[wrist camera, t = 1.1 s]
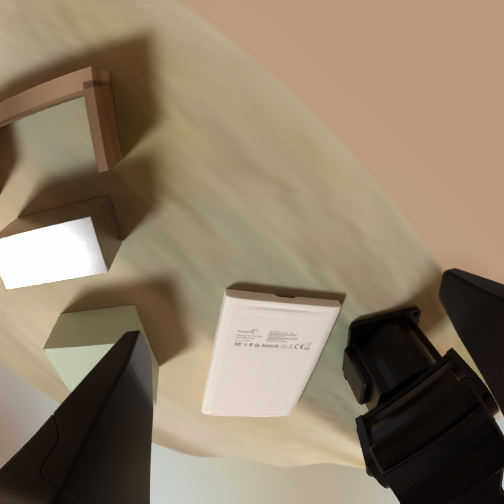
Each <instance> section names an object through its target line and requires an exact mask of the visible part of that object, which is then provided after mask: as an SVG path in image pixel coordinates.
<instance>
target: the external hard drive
mask: <svg viewBox="0 0 504 504" xmlns="http://www.w3.org/2000/svg"><path fill="white" fill-rule="evenodd" d="M340 309H341V304H340V303H339V301H338V300H328V299H317V298H306V297H294V298H285V297H278V296H276V295H275V294H267V293H258V292H249V291H241V290H232V289H225V293H224V297H223V302H222V306H221V311H220V316H219V320H218V325H217V330H216V335H215V339H214V344H213V349H212V354H211V359H210V364H209V369H208V374H207V379H206V384H205V389H204V394H203V399H202V404H201V412H202V413H203V414H206V415H217V416H248V417H250V416H253V417H275V416H276V417H279V416H289V415H291V414H292V412H293V410H294V408H295V406H296V404H297V402H298V400H299V398H300V396H301V394H302V392H303V390H304V388H305V386H306V384H307V382H308V380H309V378H310V376H311V374H312V372H313V370H314V367H315V365H316V363H317V361H318V359H319V357H320V355H321V352H322V350H323V348H324V346H325V344H326V341H327V339H328V337H329V334H330V332H331V330H332V328H333V325H334V323H335V320H336V318H337V316H338V314H339V311H340Z"/></svg>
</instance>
